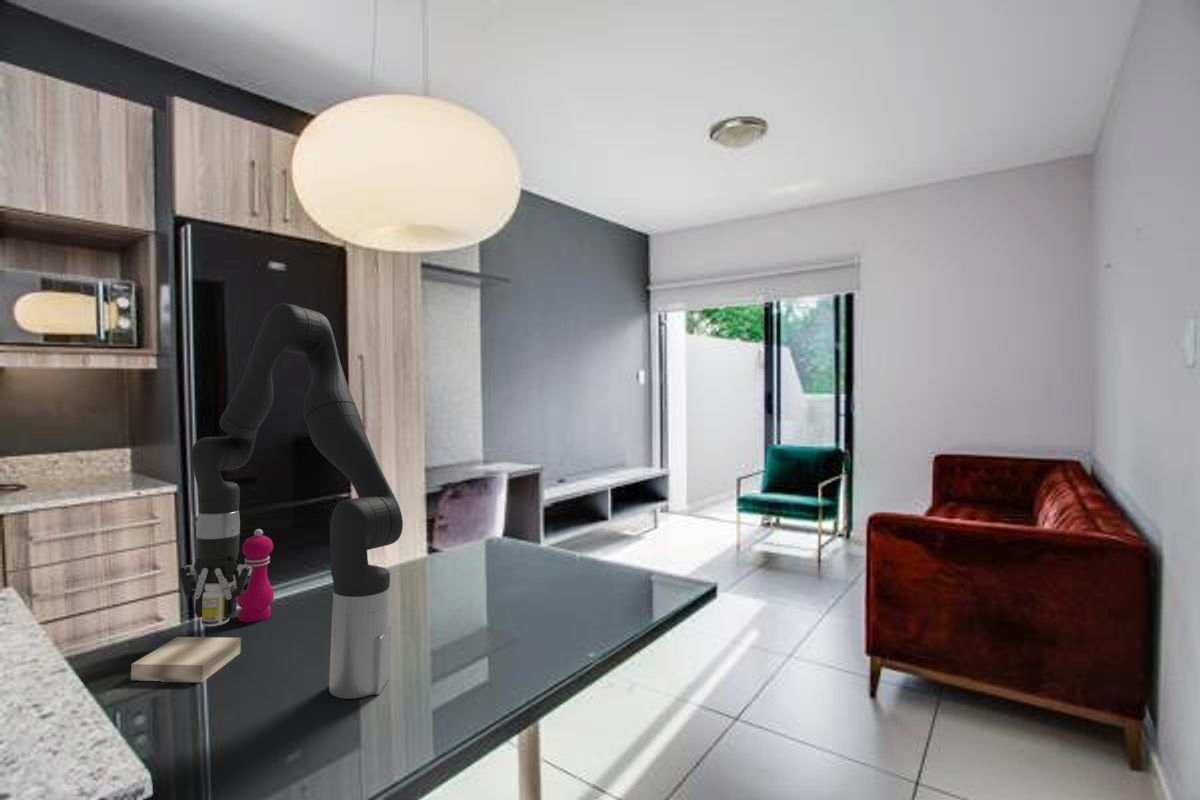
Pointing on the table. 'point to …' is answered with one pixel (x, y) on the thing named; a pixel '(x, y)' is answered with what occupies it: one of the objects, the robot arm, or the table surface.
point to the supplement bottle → (213, 605)
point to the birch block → (186, 659)
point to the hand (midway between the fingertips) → (215, 615)
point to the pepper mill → (257, 579)
